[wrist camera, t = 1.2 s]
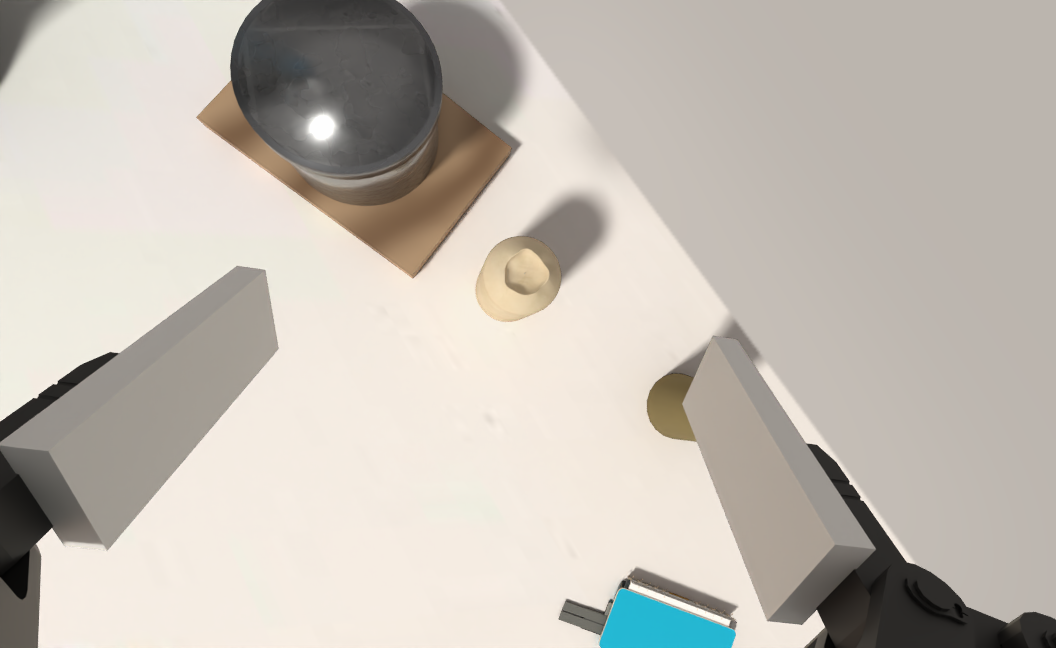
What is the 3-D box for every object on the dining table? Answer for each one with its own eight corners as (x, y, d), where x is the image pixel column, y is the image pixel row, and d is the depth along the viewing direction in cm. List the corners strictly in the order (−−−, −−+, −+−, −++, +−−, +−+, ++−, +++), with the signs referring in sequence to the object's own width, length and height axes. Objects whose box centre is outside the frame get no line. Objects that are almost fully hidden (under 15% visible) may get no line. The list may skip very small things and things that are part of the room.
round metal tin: (242, 141, 35) (183, 81, 27) (347, 25, 37) (320, -62, 29) (379, 242, 36) (360, 213, 29) (473, 126, 38) (480, 68, 31)
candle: (479, 255, 39) (490, 224, 30) (540, 265, 40) (571, 238, 31) (471, 317, 39) (479, 306, 29) (533, 326, 40) (561, 318, 30)
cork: (663, 361, 42) (739, 365, 31) (717, 391, 43) (808, 405, 32) (635, 420, 41) (703, 446, 30) (690, 450, 42) (775, 484, 31)
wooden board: (206, 126, 36) (196, 117, 35) (319, 4, 38) (314, -9, 37) (412, 278, 38) (411, 275, 37) (509, 155, 40) (511, 147, 39)
